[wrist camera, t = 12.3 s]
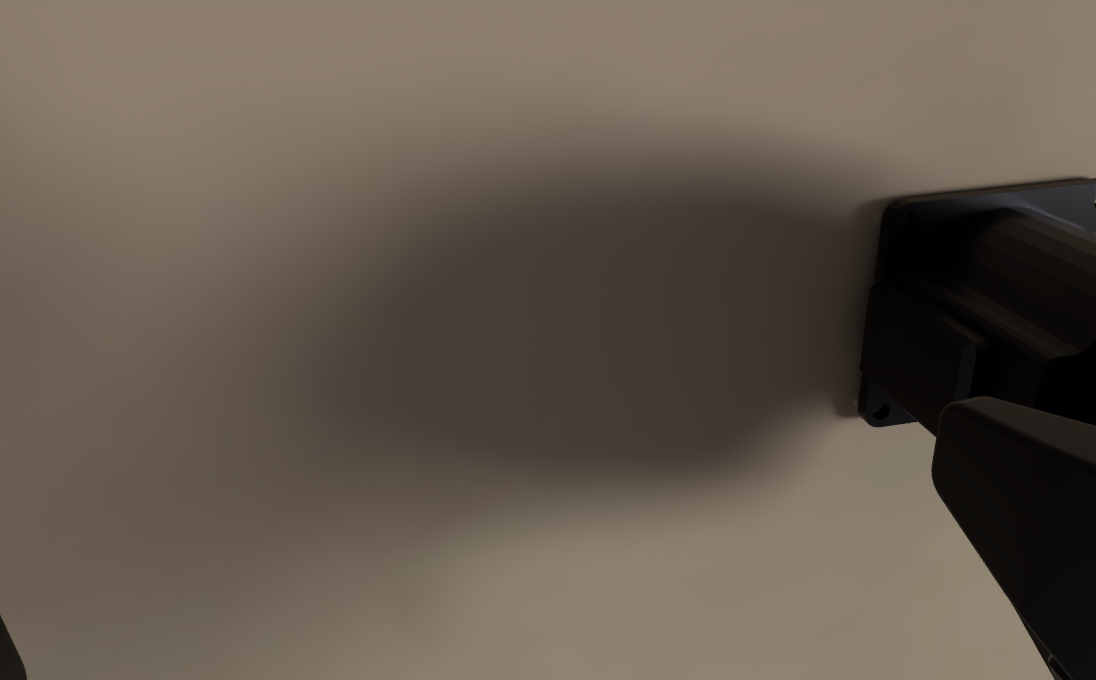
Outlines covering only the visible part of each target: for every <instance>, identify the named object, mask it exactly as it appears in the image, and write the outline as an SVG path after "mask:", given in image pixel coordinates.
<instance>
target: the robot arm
mask: <svg viewBox="0 0 1096 680" xmlns="http://www.w3.org/2000/svg"><path fill="white" fill-rule="evenodd" d="M1095 199H1096V178H1093V179H1083V180H1074V181H1064V182H1055V183H1045V184H1035V185H1026V186H1016V187H1006V188H997V189H987V190H978V191H968V192H958V193H949V194H939V195H930V196H920V197H910V198H902V199H899V200H895V201H894V202H893V203H891V204H890V205H889V206H888V207H887V209H886V210H885V212H884V214H883V218H882V223H881V231H880V238H879V246H878V254H877V262H876V270H875V278H874V283H873V284H872V286H871V288H870V290H869V298H868V306H867V314H866V322H865V330H864V338H863V346H862V354H861V362H860V371H861V372H862V379H861V387H860V395H859V403H858V413H859V415H860V416H861V418H863V419H864V420H865V421H866V422H867V423H868V424H869V425H871V426H873V427H885V426H892V425H898V424H905V423H912V422H919V423H920V424H921V425H922V426H924V427H925V428H926V429H927V430H928V431H929V432H930V433H932V434H933V435H934V436H935V437H936V443H935V449H934V455H933V461H932V469H931V472H932V479H933V483H934V486H935V489H936V491H937V493H938V495H939V496H940V498H941V499H942V501H943V502H944V504H945V505H946V507H947V508H948V510H949V511H950V513H951V514H952V516H953V517H954V519H955V520H956V522H957V523H958V525H959V526H960V528H961V529H962V530H963V532H964V533H965V535H966V536H967V538H968V539H969V541H970V542H971V544H972V545H973V547H974V548H975V550H976V551H977V553H978V554H979V556H980V557H981V559H982V560H983V562H984V563H985V565H986V566H987V568H988V569H989V571H990V572H991V574H992V575H993V577H994V578H995V580H996V581H997V583H998V584H999V586H1000V587H1001V589H1002V590H1003V592H1004V593H1005V595H1006V596H1007V597H1008V599H1009V600H1010V602H1011V603H1012V605H1013V607H1014V608H1015V610H1016V612H1017V614H1018V615H1019V617H1020V619H1021V621H1022V623H1023V624H1024V626H1025V628H1026V630H1027V631H1028V633H1029V635H1030V637H1031V638H1032V640H1033V642H1034V644H1035V645H1036V647H1037V649H1038V651H1039V653H1040V654H1041V656H1042V658H1043V660H1044V661H1045V663H1046V665H1047V667H1048V668H1049V670H1050V672H1051V674H1052V675H1053V677H1054V679H1055V680H1096V203H1095V204H1094V201H1095ZM906 213H909V219H908V221H907V222H906V223H905V224H904V225H903V226H900V224H899V223H900V220H901V218H902V217H903V216H904V215H905V214H906ZM881 404H883V405H882V407H881V408H880V409H879V410H878V411H877V412H874V410H875V408H876V407H877V406H879V405H881ZM0 680H27V675H26V671H25V667H24V665H23V662H22V660H21V658H20V656H19V654H18V651H17V649H16V647H15V645H14V643H13V641H12V639H11V637H10V635H9V632H8V630H7V628H6V626H5V624H4V622H3V620H2V618H1V616H0Z"/></svg>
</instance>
